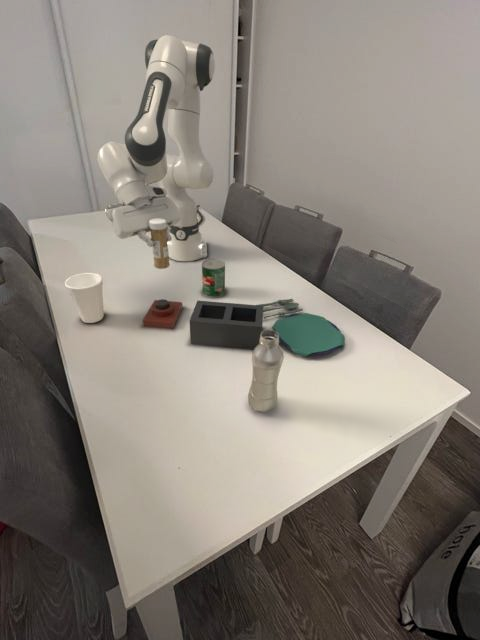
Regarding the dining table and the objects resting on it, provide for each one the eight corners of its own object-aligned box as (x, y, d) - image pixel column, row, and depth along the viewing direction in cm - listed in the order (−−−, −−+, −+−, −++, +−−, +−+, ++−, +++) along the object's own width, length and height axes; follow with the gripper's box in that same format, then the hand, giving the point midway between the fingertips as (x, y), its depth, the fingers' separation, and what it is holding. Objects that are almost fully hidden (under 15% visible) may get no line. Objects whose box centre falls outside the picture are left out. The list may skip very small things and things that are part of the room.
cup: (116, 313, 106) (109, 276, 98) (95, 330, 98) (86, 291, 91) (90, 306, 108) (81, 270, 101) (67, 323, 100) (56, 284, 93)
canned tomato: (228, 289, 121) (229, 261, 115) (218, 299, 115) (218, 270, 109) (209, 284, 124) (209, 257, 118) (198, 294, 118) (197, 265, 112)
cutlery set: (295, 366, 88) (296, 360, 87) (248, 309, 111) (248, 303, 110) (355, 349, 95) (357, 343, 94) (299, 298, 118) (300, 293, 117)
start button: (158, 303, 105) (158, 298, 104) (170, 304, 105) (169, 299, 104) (155, 309, 102) (154, 304, 101) (167, 310, 102) (166, 305, 101)
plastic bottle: (245, 394, 80) (250, 325, 68) (274, 393, 80) (283, 325, 69) (248, 416, 74) (254, 345, 63) (278, 415, 75) (289, 344, 64)
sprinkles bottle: (172, 267, 98) (168, 221, 90) (157, 270, 95) (152, 224, 88) (166, 261, 101) (162, 216, 93) (151, 264, 99) (146, 219, 91)
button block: (155, 305, 111) (154, 295, 108) (182, 307, 110) (181, 297, 108) (143, 326, 101) (141, 315, 98) (173, 329, 100) (172, 317, 98)
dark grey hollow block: (198, 322, 103) (197, 300, 99) (261, 328, 102) (263, 305, 98) (190, 344, 94) (189, 320, 90) (260, 350, 93) (262, 327, 89)
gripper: (104, 199, 84) (132, 247, 85) (169, 187, 97) (193, 229, 98) (98, 213, 89) (125, 258, 90) (161, 200, 102) (183, 239, 103)
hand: (161, 243), depth 94 cm, fingers closed on sprinkles bottle, 4 cm apart
